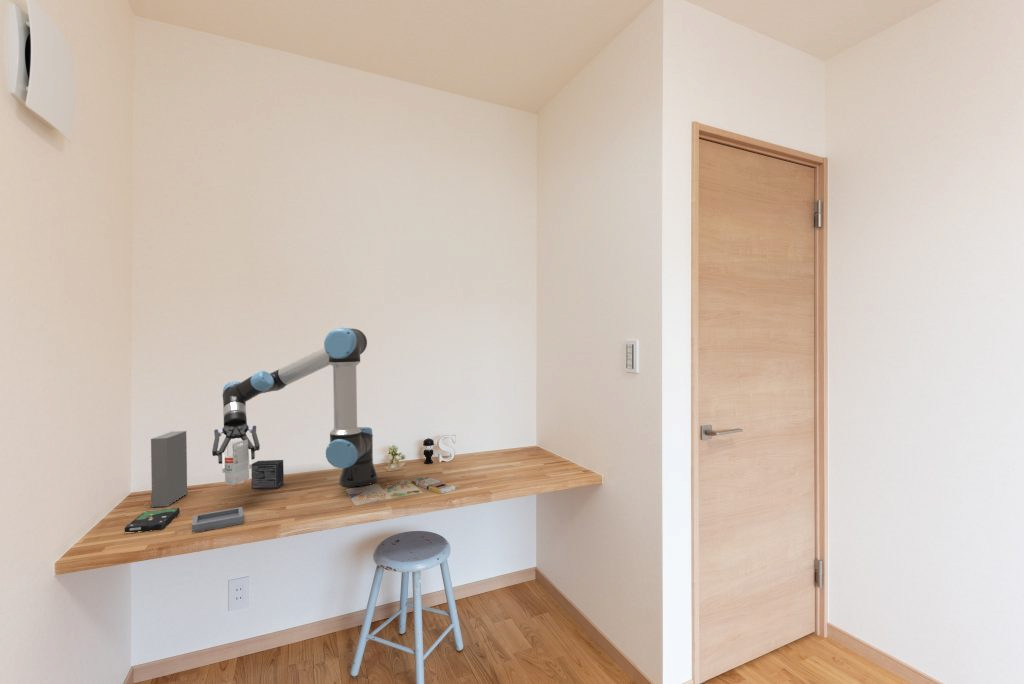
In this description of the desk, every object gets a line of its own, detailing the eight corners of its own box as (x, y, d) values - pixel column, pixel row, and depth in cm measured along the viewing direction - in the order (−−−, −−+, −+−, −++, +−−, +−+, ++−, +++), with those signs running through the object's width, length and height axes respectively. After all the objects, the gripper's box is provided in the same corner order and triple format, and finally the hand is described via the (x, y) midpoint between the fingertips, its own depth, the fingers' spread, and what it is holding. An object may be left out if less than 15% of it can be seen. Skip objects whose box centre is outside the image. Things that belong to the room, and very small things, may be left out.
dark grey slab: (170, 495, 182) (169, 431, 182) (187, 494, 183) (186, 430, 183) (149, 508, 168) (148, 439, 168) (167, 506, 169) (166, 438, 169)
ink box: (224, 485, 164) (223, 443, 164) (240, 478, 172) (239, 439, 172) (234, 485, 163) (232, 443, 163) (249, 478, 171) (248, 439, 171)
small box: (284, 484, 195) (284, 459, 195) (278, 489, 188) (277, 463, 188) (258, 485, 194) (258, 459, 194) (250, 490, 187) (250, 464, 187)
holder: (242, 514, 161) (242, 506, 161) (243, 523, 153) (243, 515, 153) (193, 522, 154) (193, 515, 154) (192, 533, 145) (192, 525, 145)
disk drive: (163, 531, 148) (180, 514, 162) (163, 523, 148) (179, 506, 162) (124, 536, 145) (144, 518, 159) (123, 527, 145) (144, 510, 159)
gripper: (264, 420, 186) (269, 469, 172) (203, 426, 175) (203, 479, 161) (265, 408, 181) (270, 458, 168) (202, 413, 171) (202, 467, 157)
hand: (237, 468), depth 165 cm, fingers closed on ink box, 7 cm apart
